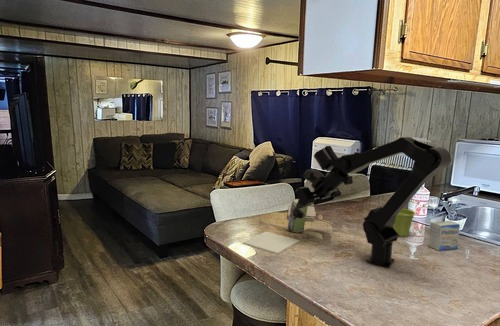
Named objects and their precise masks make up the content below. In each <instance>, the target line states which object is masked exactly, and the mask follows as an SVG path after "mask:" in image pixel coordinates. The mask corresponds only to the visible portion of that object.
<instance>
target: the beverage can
mask: <svg viewBox="0 0 500 326" xmlns="http://www.w3.org/2000/svg"><path fill="white" fill-rule="evenodd" d="M298 200H299V198H296V199H293V201H292V202H291V205H290V206H291V210H290V217H289V220H288V224H287V228H288V229H289V231H291V232H293V233H302V232H303V231H305V226H306V225H305V224H306V221H305V220H306V214H307V208H308V206H307V207H303V208H300V209H297V208H296V205H297V202H298Z"/></svg>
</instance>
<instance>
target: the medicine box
mask: <svg viewBox="0 0 500 326" xmlns="http://www.w3.org/2000/svg"><path fill="white" fill-rule="evenodd" d="M460 226H461V224H460V223H458V222H455V221H453V220H452V221H451V220H445V221H434V222H432V221H431V222H430V226H429V237H428V238H429V239H428V247H429V248H432V249H434V250H436V251H438V252H441V251H442V252H443V251H451V250H457V249H458V246H459V238H460V237H459V236H460V230H461V229H460V228H461V227H460Z"/></svg>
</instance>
